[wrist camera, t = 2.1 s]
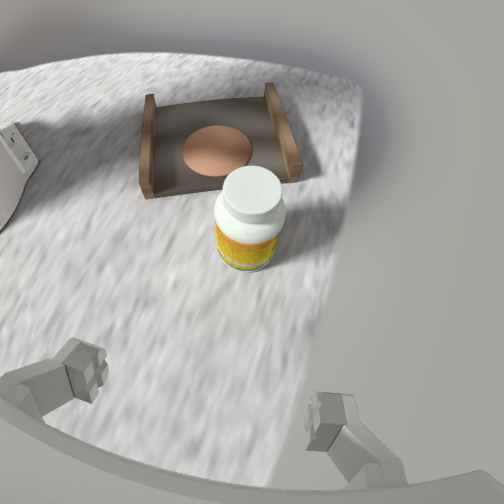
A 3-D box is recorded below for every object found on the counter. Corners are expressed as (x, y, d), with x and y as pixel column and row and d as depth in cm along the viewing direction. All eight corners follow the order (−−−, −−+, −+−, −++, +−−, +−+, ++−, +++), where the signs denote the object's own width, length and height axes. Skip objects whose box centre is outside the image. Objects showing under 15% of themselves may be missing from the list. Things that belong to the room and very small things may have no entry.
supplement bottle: (216, 222, 30) (212, 157, 21) (272, 221, 31) (287, 156, 22) (217, 275, 28) (211, 223, 19) (277, 273, 28) (297, 222, 20)
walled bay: (297, 182, 33) (302, 164, 30) (145, 199, 31) (138, 182, 28) (270, 99, 38) (273, 82, 35) (149, 111, 36) (145, 94, 33)
